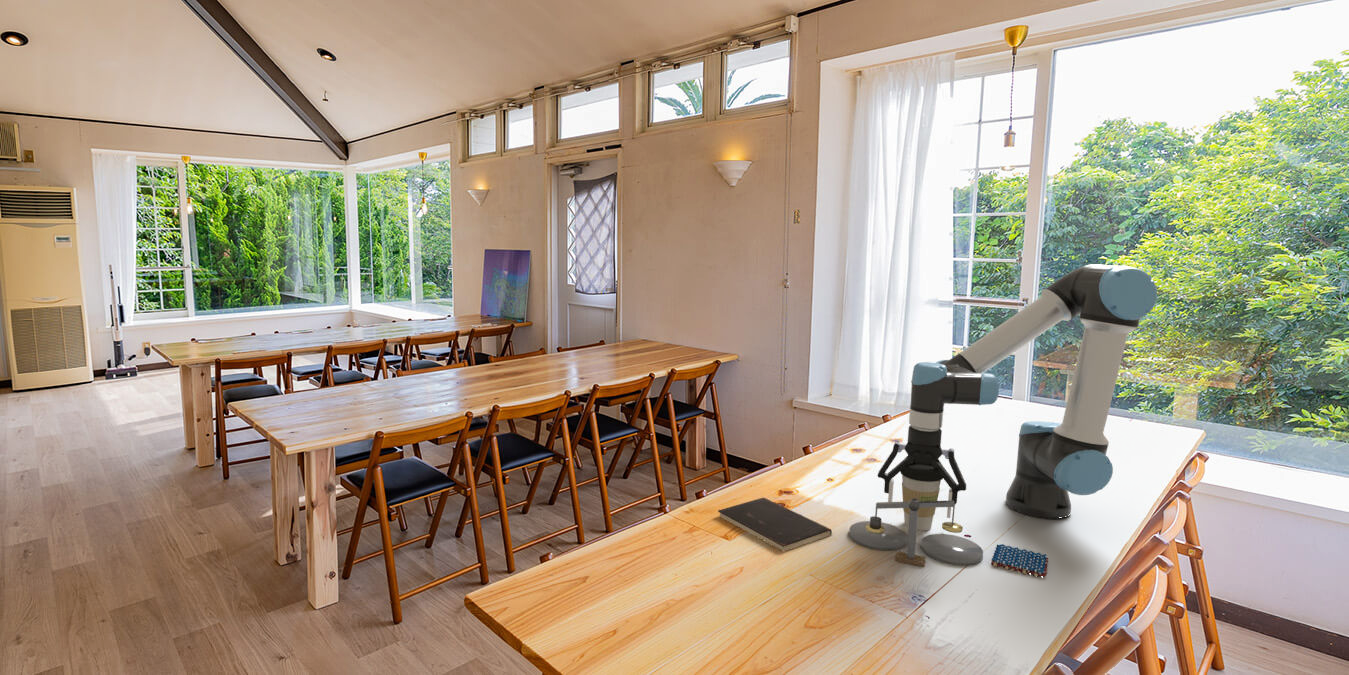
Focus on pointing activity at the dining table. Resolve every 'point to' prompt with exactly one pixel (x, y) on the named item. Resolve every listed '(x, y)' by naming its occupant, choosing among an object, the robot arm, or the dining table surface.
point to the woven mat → (1020, 560)
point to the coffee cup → (920, 491)
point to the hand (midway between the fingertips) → (918, 510)
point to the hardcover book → (775, 523)
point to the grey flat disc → (951, 549)
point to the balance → (912, 526)
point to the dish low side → (878, 536)
